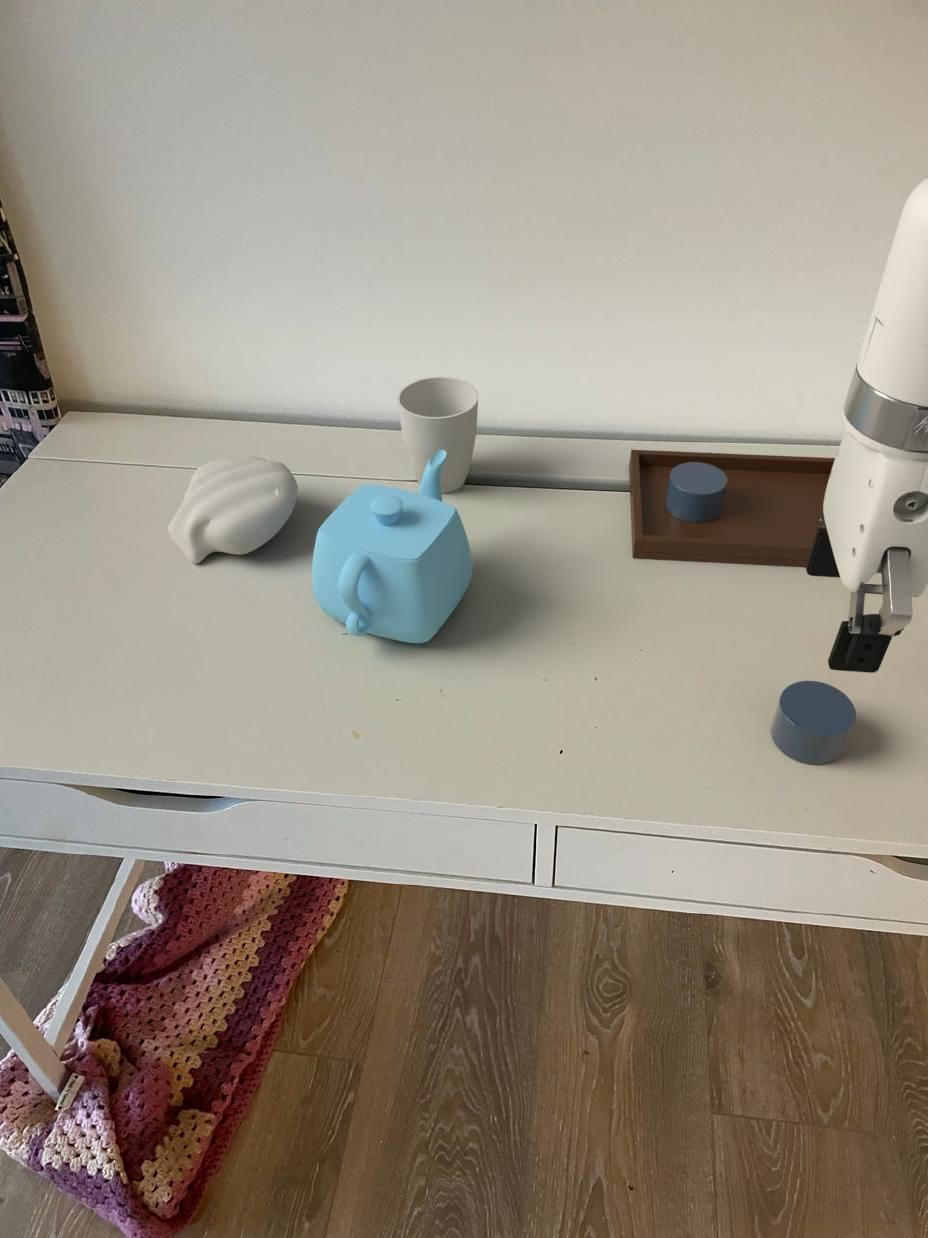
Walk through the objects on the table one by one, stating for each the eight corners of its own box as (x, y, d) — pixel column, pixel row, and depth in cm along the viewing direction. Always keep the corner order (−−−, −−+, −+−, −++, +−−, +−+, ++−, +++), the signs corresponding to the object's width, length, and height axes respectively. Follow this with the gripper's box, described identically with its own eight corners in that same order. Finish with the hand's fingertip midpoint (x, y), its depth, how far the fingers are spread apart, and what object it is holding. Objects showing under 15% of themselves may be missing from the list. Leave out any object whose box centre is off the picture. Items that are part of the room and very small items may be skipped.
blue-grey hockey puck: (851, 725, 74) (863, 695, 72) (835, 775, 71) (847, 745, 69) (780, 701, 76) (789, 671, 74) (762, 749, 73) (771, 719, 71)
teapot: (503, 557, 91) (504, 456, 83) (417, 680, 79) (409, 576, 71) (391, 525, 95) (382, 426, 87) (293, 638, 83) (273, 535, 75)
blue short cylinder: (728, 499, 96) (734, 470, 93) (712, 529, 92) (717, 499, 90) (675, 485, 98) (680, 456, 95) (657, 513, 94) (661, 484, 92)
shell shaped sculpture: (307, 491, 100) (298, 438, 95) (298, 567, 90) (289, 512, 86) (183, 497, 99) (169, 444, 95) (162, 574, 90) (146, 520, 85)
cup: (489, 466, 102) (488, 383, 96) (464, 508, 97) (462, 423, 90) (419, 453, 104) (414, 371, 98) (392, 494, 99) (384, 410, 92)
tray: (834, 476, 100) (839, 457, 98) (864, 570, 88) (870, 551, 87) (629, 467, 102) (631, 449, 100) (632, 558, 90) (634, 539, 89)
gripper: (1030, 494, 48) (923, 715, 60) (943, 338, 61) (869, 545, 72) (879, 486, 49) (802, 706, 60) (824, 333, 61) (769, 540, 73)
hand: (838, 618), depth 66 cm, fingers open, 9 cm apart
